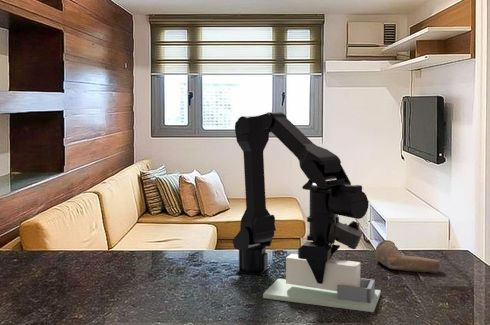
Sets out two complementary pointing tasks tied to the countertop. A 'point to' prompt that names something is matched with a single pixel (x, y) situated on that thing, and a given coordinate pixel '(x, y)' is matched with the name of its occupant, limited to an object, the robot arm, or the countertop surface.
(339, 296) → the bracket board
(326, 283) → the block
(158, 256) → the countertop surface
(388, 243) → the pipe
